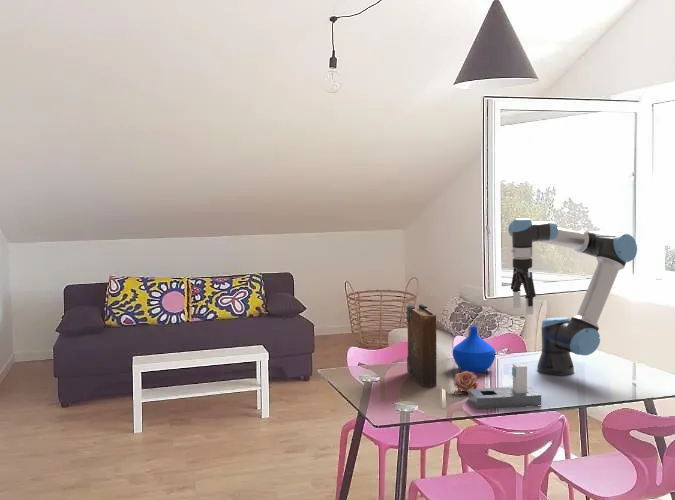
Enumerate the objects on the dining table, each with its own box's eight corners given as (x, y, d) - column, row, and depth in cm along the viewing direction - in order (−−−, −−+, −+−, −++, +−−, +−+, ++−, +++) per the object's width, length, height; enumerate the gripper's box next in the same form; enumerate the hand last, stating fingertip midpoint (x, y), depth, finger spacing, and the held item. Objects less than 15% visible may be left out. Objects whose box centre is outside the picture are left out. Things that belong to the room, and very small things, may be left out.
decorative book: (407, 372, 324) (406, 304, 320) (423, 371, 325) (422, 303, 322) (422, 388, 301) (421, 314, 298) (439, 386, 302) (438, 313, 299)
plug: (523, 399, 281) (523, 363, 279) (526, 403, 277) (527, 366, 275) (511, 400, 280) (511, 364, 279) (514, 403, 276) (514, 366, 275)
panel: (529, 397, 285) (529, 386, 285) (541, 407, 273) (541, 395, 273) (468, 400, 283) (468, 389, 283) (477, 410, 271) (477, 398, 271)
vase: (448, 373, 321) (448, 330, 319) (457, 363, 338) (457, 321, 336) (491, 377, 314) (491, 332, 312) (498, 366, 331) (498, 324, 329)
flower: (451, 384, 299) (451, 371, 294) (473, 378, 300) (473, 365, 295) (459, 403, 292) (459, 390, 287) (482, 397, 293) (481, 384, 287)
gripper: (502, 254, 305) (503, 305, 307) (524, 262, 280) (525, 317, 283) (520, 253, 306) (520, 304, 308) (544, 261, 281) (544, 316, 284)
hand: (523, 311), depth 296 cm, fingers open, 13 cm apart
